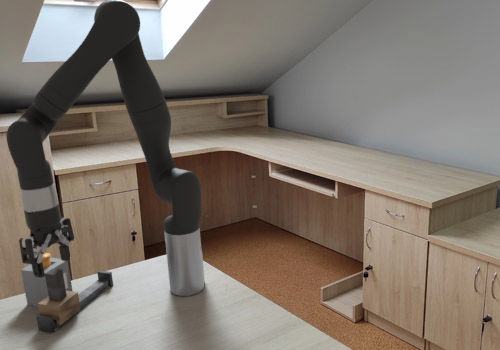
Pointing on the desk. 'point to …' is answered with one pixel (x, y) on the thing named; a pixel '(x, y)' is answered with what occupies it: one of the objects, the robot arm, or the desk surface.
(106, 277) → the rail
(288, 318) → the desk surface
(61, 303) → the carriage
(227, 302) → the desk surface
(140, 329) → the desk surface
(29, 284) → the button housing
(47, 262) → the button
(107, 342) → the desk surface
